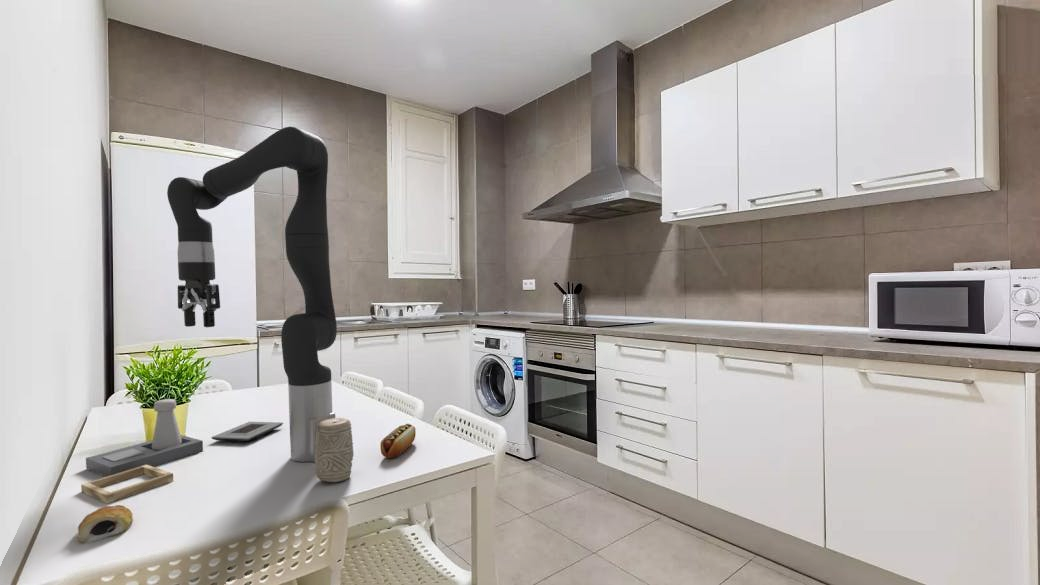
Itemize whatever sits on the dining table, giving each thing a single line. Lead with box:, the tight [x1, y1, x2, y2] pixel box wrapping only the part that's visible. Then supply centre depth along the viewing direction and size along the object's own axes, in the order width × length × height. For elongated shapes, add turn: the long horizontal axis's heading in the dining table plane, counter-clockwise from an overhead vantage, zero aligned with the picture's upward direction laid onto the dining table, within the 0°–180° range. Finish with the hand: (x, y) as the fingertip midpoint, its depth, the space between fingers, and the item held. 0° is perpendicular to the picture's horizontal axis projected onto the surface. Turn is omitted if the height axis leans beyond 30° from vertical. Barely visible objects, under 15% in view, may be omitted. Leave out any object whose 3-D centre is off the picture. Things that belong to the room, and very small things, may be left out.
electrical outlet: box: [211, 421, 284, 442], centre depth 126 cm, size 13×10×2 cm
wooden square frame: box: [80, 465, 174, 504], centre depth 96 cm, size 11×11×2 cm
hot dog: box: [380, 423, 417, 459], centre depth 112 cm, size 5×13×5 cm, turn 171°
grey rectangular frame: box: [85, 434, 204, 477], centre depth 110 cm, size 12×18×3 cm, turn 151°
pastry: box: [76, 504, 134, 544], centre depth 79 cm, size 9×7×4 cm
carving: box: [314, 417, 355, 483], centre depth 97 cm, size 6×8×12 cm
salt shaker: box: [152, 398, 182, 451], centre depth 113 cm, size 6×6×13 cm
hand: (199, 326), depth 117 cm, fingers open, 8 cm apart
